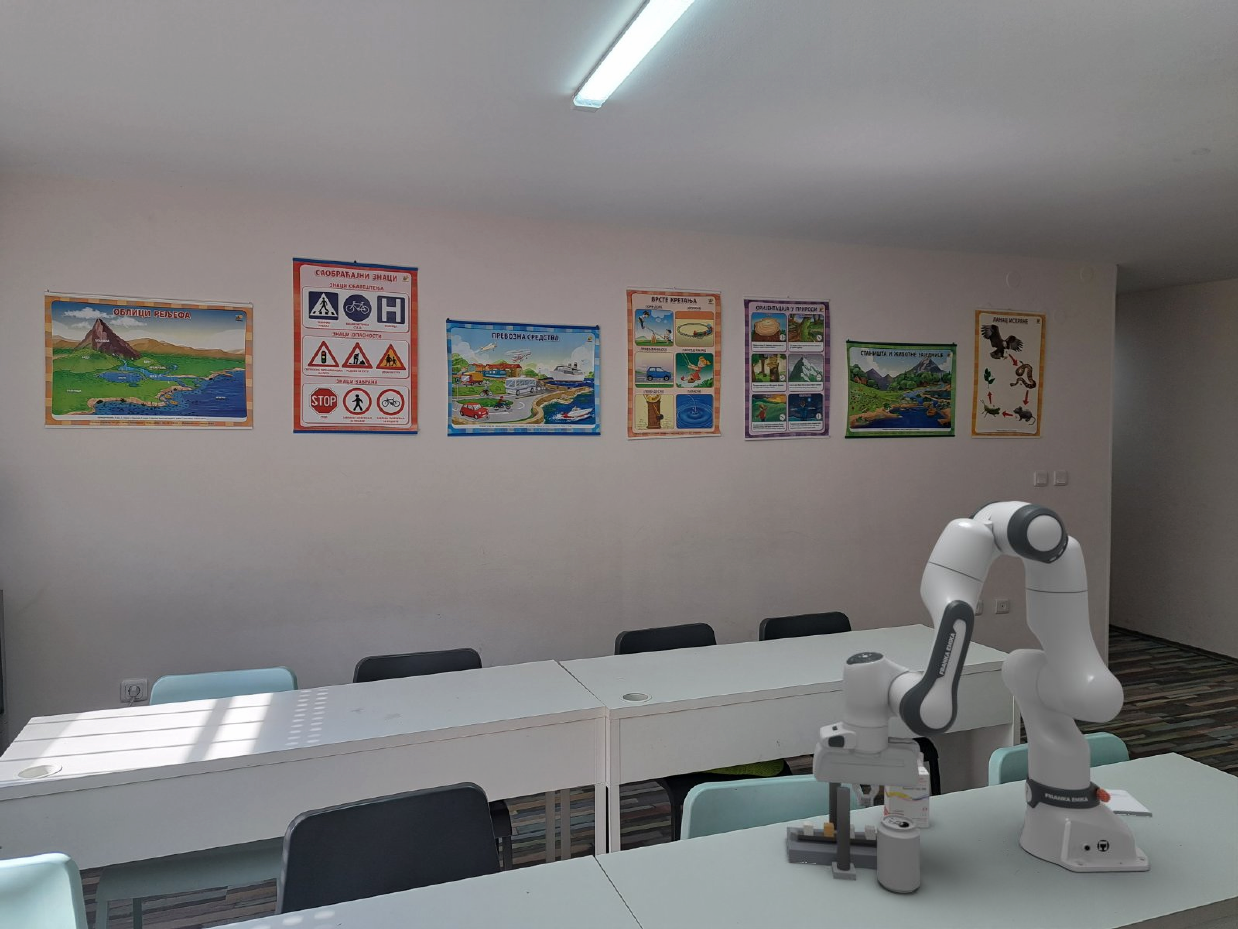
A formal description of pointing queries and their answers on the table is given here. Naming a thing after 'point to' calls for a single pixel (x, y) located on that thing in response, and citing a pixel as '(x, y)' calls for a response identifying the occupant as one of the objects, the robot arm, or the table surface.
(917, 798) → the ink cartridge box
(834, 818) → the disc
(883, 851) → the can
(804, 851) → the breaker panel
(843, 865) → the post
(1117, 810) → the external hard drive
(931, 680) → the robot arm
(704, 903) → the table surface
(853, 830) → the breaker paddles
